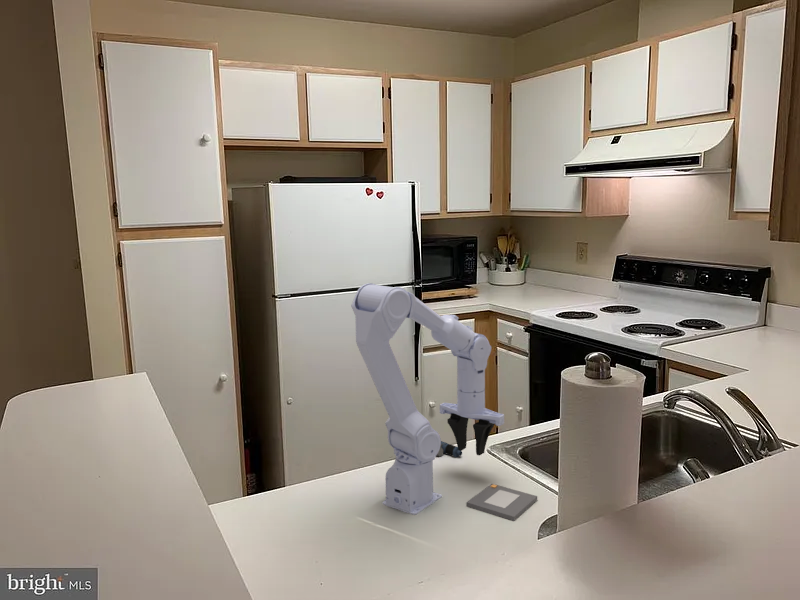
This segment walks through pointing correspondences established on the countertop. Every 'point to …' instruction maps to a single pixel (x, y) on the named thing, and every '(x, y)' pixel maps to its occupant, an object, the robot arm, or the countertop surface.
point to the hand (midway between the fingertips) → (471, 451)
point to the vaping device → (449, 450)
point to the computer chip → (502, 501)
